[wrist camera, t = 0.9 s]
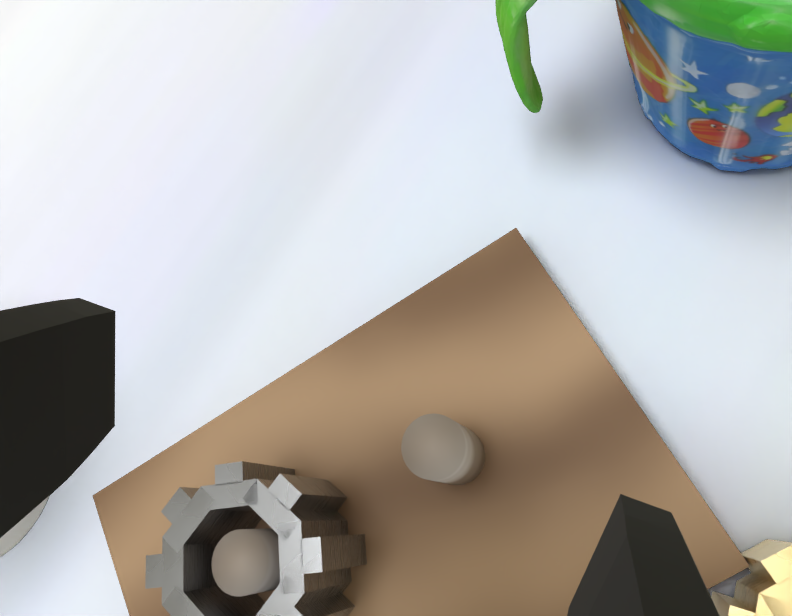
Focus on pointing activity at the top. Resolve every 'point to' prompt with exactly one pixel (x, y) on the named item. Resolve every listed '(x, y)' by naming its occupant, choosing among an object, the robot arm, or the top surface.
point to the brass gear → (761, 583)
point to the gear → (243, 509)
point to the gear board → (413, 519)
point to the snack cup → (695, 74)
